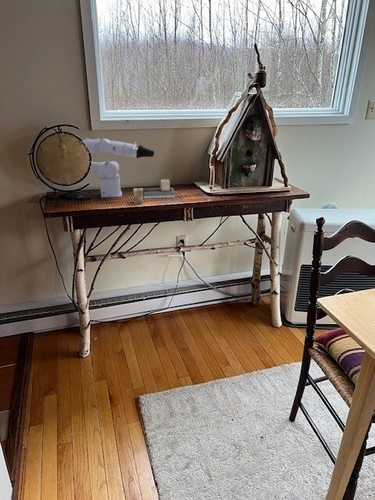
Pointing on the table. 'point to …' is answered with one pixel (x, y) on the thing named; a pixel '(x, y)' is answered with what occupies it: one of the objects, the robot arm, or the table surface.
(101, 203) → the table surface
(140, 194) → the finger
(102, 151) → the robot arm
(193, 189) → the table surface
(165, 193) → the rail
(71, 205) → the table surface
